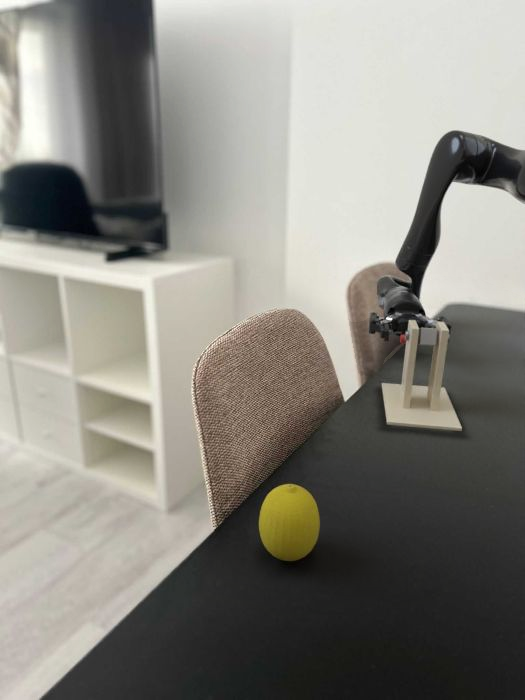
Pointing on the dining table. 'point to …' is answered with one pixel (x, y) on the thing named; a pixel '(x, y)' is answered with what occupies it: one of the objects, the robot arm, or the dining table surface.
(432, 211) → the robot arm
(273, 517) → the lemon
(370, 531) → the dining table surface
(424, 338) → the lever
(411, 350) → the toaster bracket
